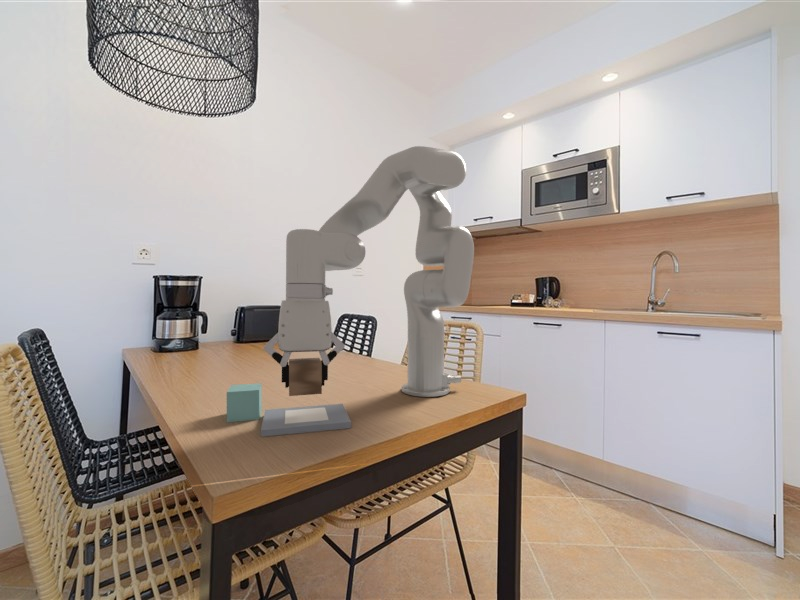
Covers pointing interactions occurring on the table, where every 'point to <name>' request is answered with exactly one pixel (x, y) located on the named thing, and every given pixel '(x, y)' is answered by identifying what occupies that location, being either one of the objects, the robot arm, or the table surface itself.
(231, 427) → the table surface
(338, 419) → the board
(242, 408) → the teal block
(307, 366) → the walnut block
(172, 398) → the table surface
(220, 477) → the table surface
